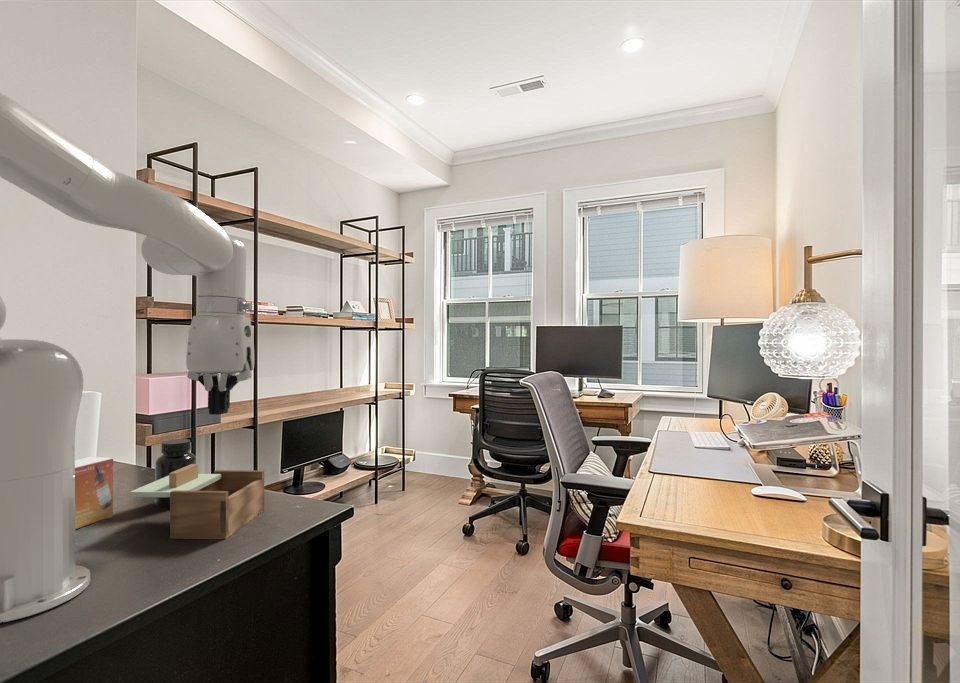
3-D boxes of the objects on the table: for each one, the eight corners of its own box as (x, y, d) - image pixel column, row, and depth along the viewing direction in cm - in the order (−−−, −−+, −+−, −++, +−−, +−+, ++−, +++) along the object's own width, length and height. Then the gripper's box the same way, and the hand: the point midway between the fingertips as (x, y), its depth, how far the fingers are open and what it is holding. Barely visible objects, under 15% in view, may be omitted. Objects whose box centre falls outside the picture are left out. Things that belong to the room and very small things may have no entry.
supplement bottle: (147, 505, 93) (147, 442, 93) (183, 495, 99) (183, 436, 99) (168, 511, 90) (168, 446, 90) (204, 500, 96) (204, 439, 96)
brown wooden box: (225, 539, 77) (225, 492, 77) (170, 538, 78) (170, 492, 78) (264, 510, 90) (264, 470, 90) (216, 509, 91) (216, 470, 91)
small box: (68, 533, 80) (68, 469, 80) (41, 530, 81) (41, 467, 81) (114, 515, 88) (114, 457, 87) (89, 513, 89) (89, 455, 89)
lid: (184, 497, 79) (184, 477, 79) (129, 496, 79) (129, 477, 79) (221, 478, 89) (221, 460, 89) (173, 477, 90) (173, 460, 90)
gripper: (272, 311, 89) (270, 411, 89) (192, 310, 90) (189, 410, 89) (253, 307, 82) (250, 417, 81) (165, 306, 82) (162, 415, 82)
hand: (218, 413), depth 85 cm, fingers closed
